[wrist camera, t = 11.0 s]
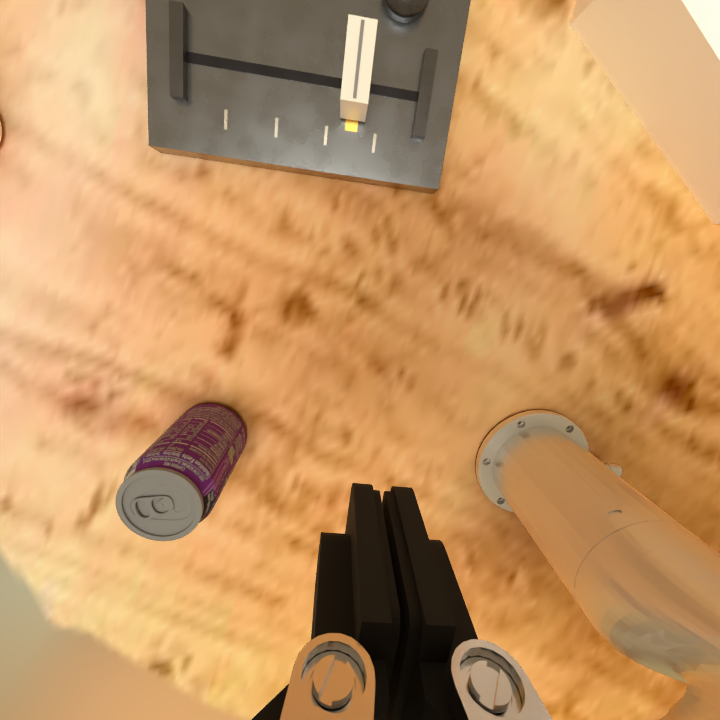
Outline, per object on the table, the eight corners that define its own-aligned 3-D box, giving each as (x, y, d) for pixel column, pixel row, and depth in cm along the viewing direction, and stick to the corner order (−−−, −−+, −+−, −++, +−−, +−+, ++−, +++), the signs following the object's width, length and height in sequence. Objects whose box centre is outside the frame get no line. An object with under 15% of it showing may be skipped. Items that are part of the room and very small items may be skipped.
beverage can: (190, 467, 39) (128, 554, 28) (170, 407, 37) (93, 473, 26) (255, 455, 39) (219, 537, 28) (238, 395, 37) (192, 455, 26)
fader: (373, 48, 28) (377, 18, 24) (364, 122, 29) (368, 103, 26) (347, 44, 28) (348, 13, 24) (340, 118, 29) (340, 98, 25)
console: (468, -22, 29) (484, -57, 26) (432, 193, 33) (442, 186, 30) (157, -86, 27) (132, -131, 24) (160, 152, 31) (140, 140, 28)
